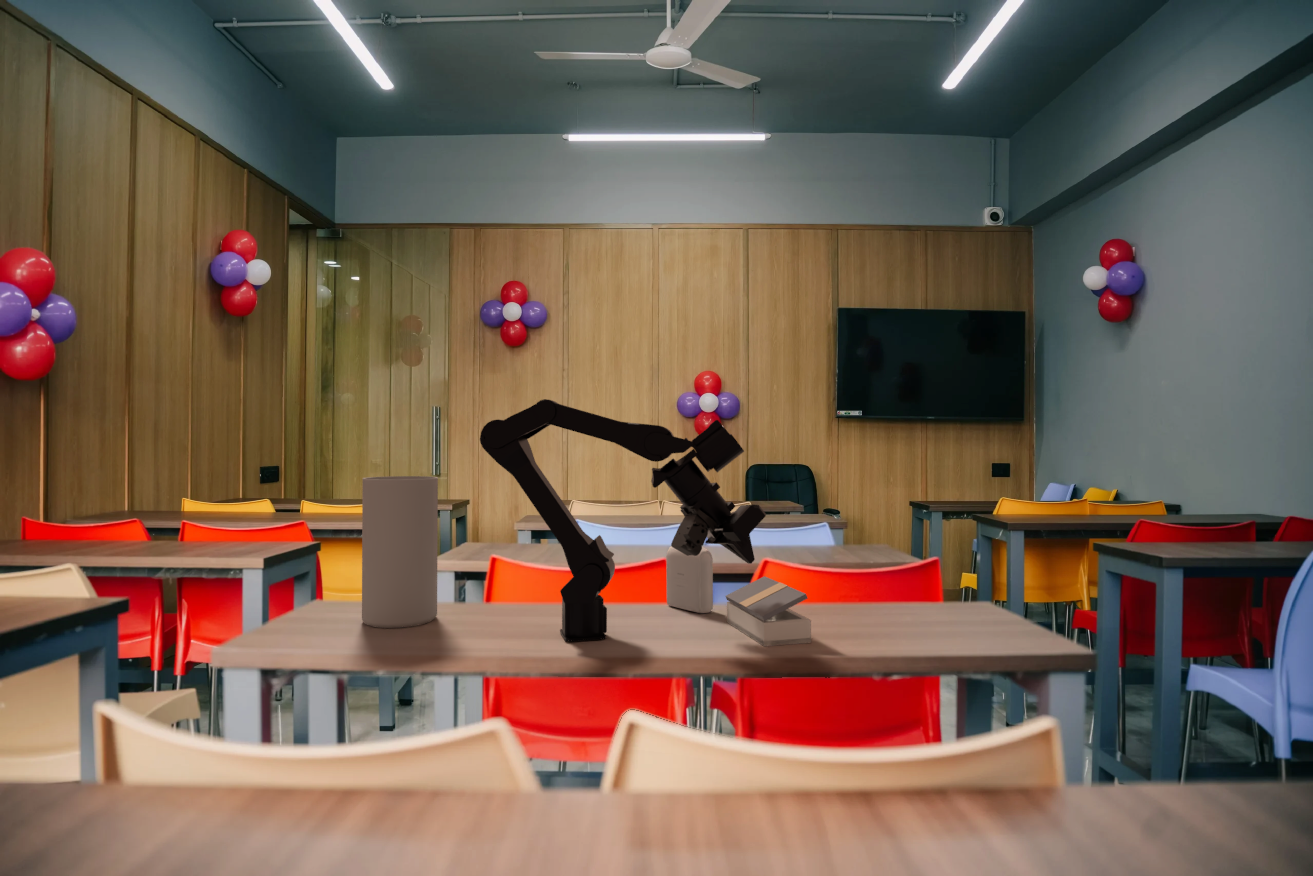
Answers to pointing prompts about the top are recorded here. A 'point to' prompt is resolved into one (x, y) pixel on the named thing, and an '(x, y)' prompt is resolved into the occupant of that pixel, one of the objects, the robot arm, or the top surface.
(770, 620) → the storage box
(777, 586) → the flap lid
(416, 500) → the cylinder vase
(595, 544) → the robot arm
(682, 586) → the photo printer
